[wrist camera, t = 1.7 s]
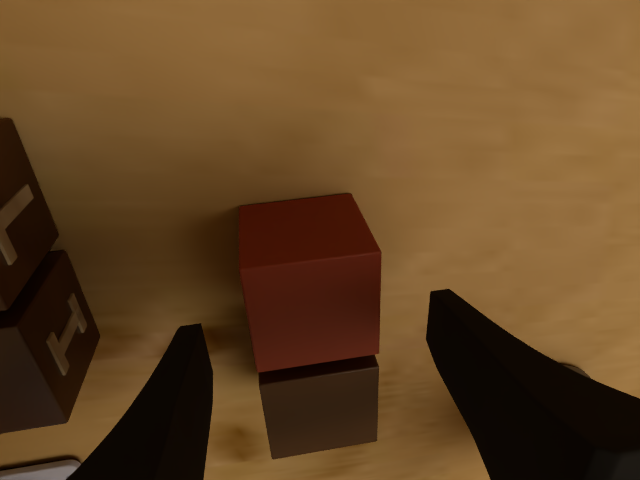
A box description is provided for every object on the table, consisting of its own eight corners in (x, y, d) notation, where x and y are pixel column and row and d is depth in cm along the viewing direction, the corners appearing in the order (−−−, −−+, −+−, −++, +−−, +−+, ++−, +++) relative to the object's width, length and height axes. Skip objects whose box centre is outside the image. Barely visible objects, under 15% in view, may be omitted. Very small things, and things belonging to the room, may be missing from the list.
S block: (355, 282, 20) (382, 354, 16) (253, 296, 19) (256, 373, 16) (353, 192, 18) (385, 251, 14) (238, 205, 17) (238, 269, 13)
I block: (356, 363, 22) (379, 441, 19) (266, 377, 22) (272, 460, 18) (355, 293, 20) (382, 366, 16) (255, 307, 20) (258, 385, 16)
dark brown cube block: (104, 335, 19) (70, 423, 15) (-9, 351, 19) (-70, 446, 15) (68, 249, 17) (20, 326, 13) (-60, 264, 16) (-148, 349, 13)
